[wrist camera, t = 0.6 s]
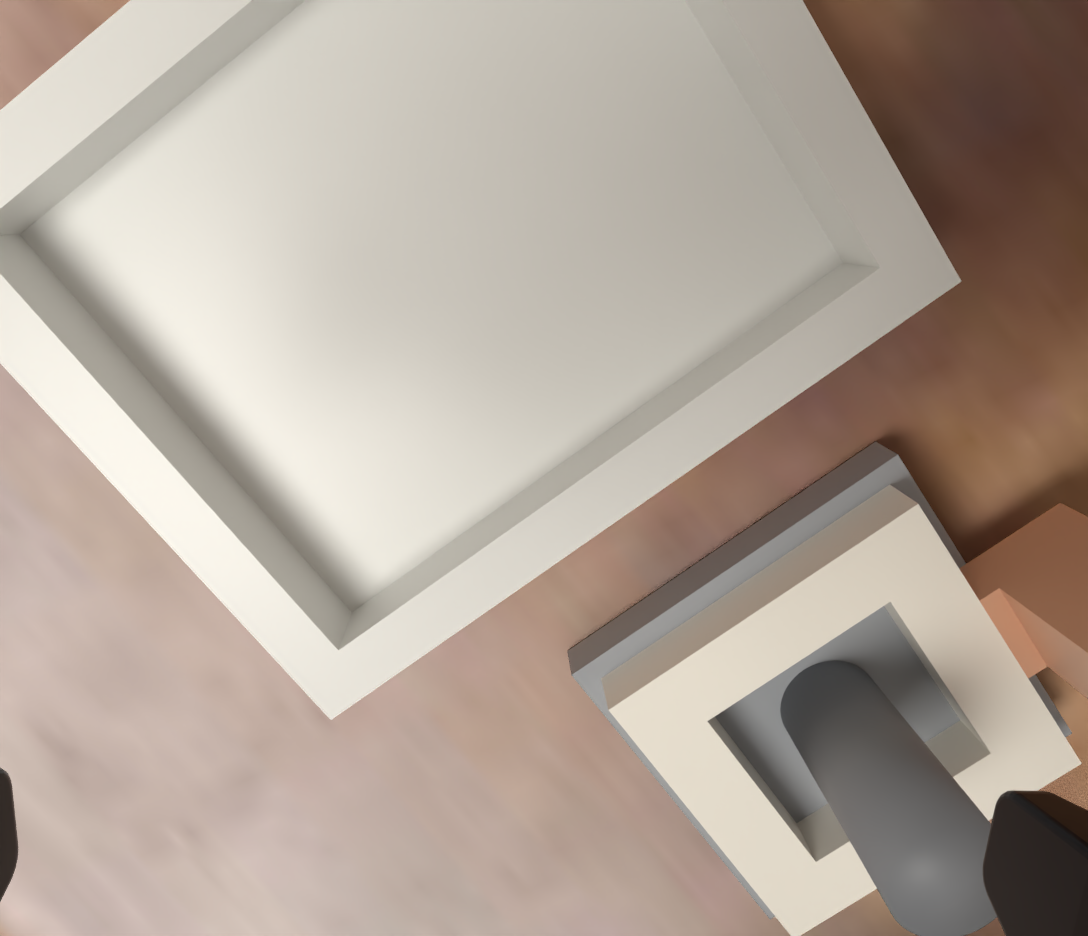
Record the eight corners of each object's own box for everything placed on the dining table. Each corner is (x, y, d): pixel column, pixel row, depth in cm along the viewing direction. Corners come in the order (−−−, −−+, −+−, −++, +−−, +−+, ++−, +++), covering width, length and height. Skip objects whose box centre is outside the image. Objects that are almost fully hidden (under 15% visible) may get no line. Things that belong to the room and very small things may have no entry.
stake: (1043, 707, 23) (1276, 915, 16) (756, 885, 24) (862, 1152, 17) (875, 441, 21) (1064, 552, 14) (567, 651, 22) (601, 850, 15)
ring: (1152, 663, 22) (1359, 804, 17) (776, 897, 23) (858, 1095, 18) (1004, 406, 20) (1188, 475, 14) (601, 678, 21) (637, 830, 16)
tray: (905, 273, 20) (961, 281, 18) (348, 664, 22) (330, 719, 19) (571, -298, 17) (585, -385, 14) (-51, 220, 19) (-131, 221, 16)
